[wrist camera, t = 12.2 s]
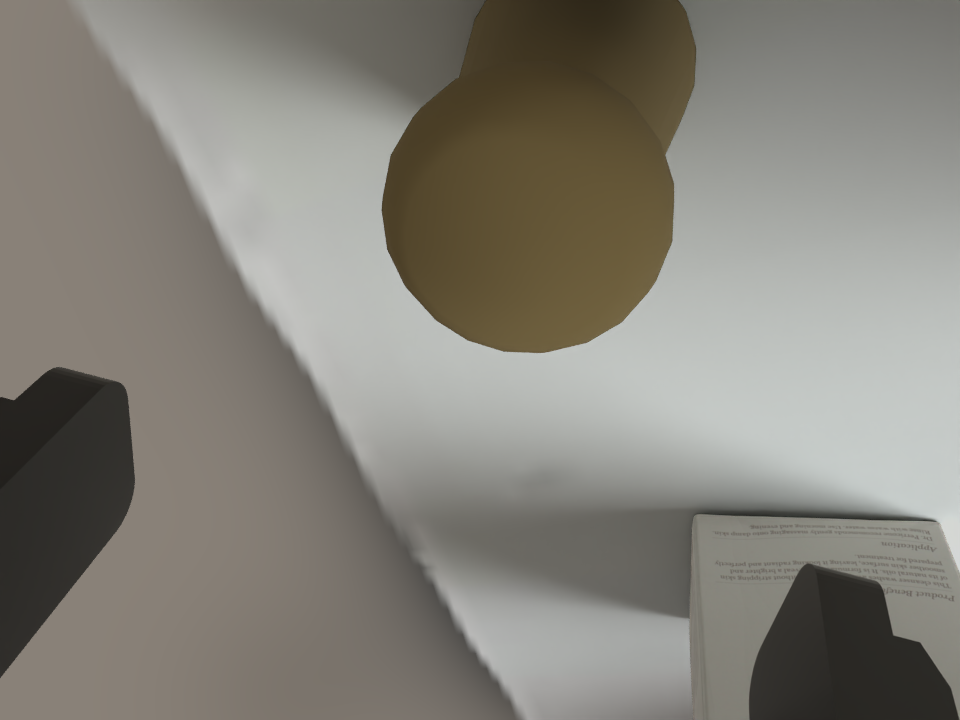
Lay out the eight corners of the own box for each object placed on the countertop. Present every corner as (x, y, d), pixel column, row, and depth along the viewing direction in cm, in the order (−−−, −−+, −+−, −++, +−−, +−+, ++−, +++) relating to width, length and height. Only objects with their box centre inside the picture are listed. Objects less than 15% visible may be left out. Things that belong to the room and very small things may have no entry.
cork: (494, 193, 26) (390, 417, 17) (442, -26, 23) (284, 106, 14) (708, 160, 24) (719, 392, 15) (682, -81, 21) (676, 31, 12)
